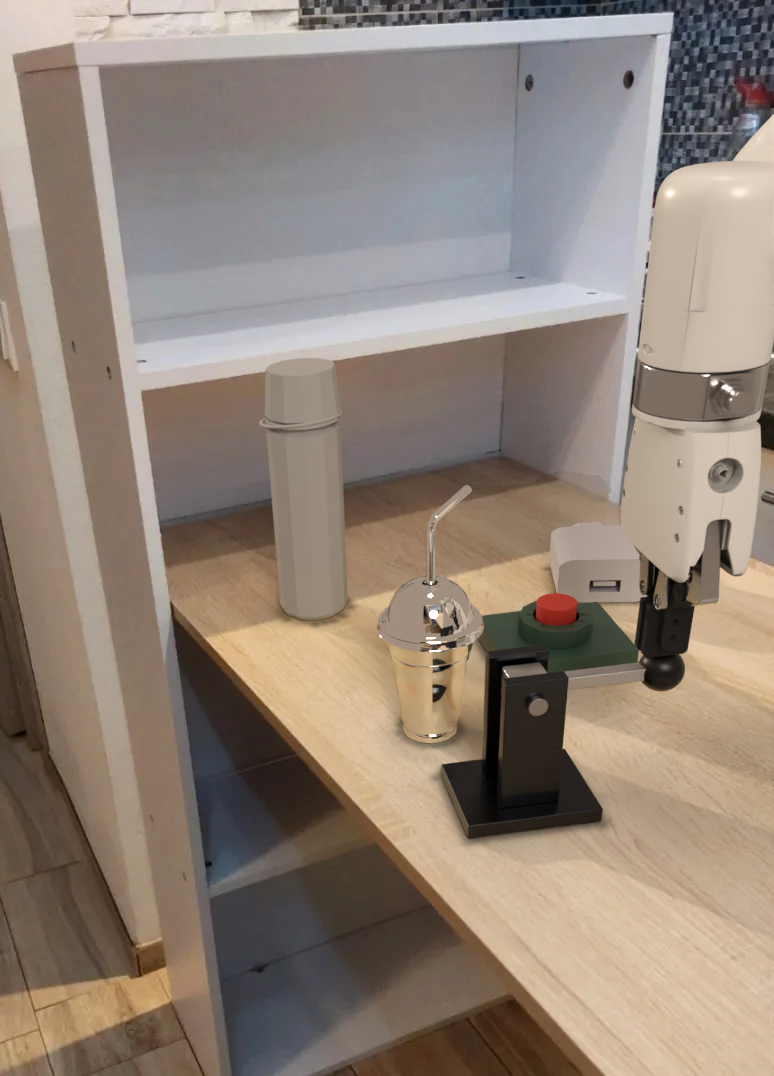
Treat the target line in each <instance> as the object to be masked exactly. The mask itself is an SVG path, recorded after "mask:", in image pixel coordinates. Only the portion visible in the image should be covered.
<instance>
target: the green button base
mask: <svg viewBox="0 0 774 1076" xmlns="http://www.w3.org/2000/svg"><path fill="white" fill-rule="evenodd" d="M536 606H537V600H534V601H532V602H530V603H528V604H526V605H523V606H522V609H521V610H516V611H507V612H500V613H492V614H483V615H482V614H481V615H482V621H483V624H484V629H483V633H482V634H481V636H480V637H479V638H478V639H477V640H478V641H479V643H480V644H481V646H482V648H483V650H484V651H485V652H486V651H493V650H502V649H510V648H518V647H526V646H534V645H543V644H545V645H546V647H547V648H548V650H549V659H548V673H552V672H560V671H572V670H580V669H589V668H597V667H605V666H613V665H621V664H630V663H638V662H639V653H640V650H639V649H638V648H637V647H636V646H635V642H633V641H632V640H631V638H629V636H628V635H627V634H626V632H624V631H623V629H622V628H621V627H620V625H618V624H617V623H616V621H615V620H614V619H613V618H612V617H611V615H609V613H608V612H607V611H606V609H604V607H603V606H602V605H601V604H600V602H590V603H577V614H576V621H575V622H574V623H571V624H569V625H561V626H556V625H547V624H544V623H541V622H539V621H537V620H536Z"/></svg>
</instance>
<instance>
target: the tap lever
mask: <svg viewBox="0 0 774 1076" xmlns="http://www.w3.org/2000/svg"><path fill="white" fill-rule="evenodd" d="M564 672H565V673H566V675H567V676H568V678H569V680H568V691H572V690H573V691H575V690H580V689H591V688H598V687H604V686H605V687H606V686H614V685H622V684H623V685H624V684H631V683H639V682H641V683H642V685H643V686H645V687H646V688H648V689H649V690H652V691H653V692H654V691H655V692H667V691H671V690H673V689H675V688H676V687H677V686H679V685H680V684H681V682H682V681H683V679H684V677H685V674H686V665H685V661H684V659H683V657H682V656H681V654H677V655H668V656H660V657H651V658H646V657H645V656H644V655H643V654H642V656H641V657H640V659H639V660H638V662H637V663H630V664H621V665H613V666H605V667H597V668H589V669H580V670H572V671H564ZM544 673H547V672H546V671H545V669H544V668H543V666H542V665H541V663H540V662H537V663H528V664H520V665H512V666H504V667H502V679H504V678H512V677H520V676H528V675H536V674H544ZM501 695H502V682H501Z"/></svg>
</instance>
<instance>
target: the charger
mask: <svg viewBox="0 0 774 1076" xmlns="http://www.w3.org/2000/svg"><path fill="white" fill-rule="evenodd" d="M639 556H640V555H639V553H638V552H637V550H636V548H635V547H634V545H633V544H632V543H631V542H630V541H629V540H628V538H627V537H626V536H625V534H624V533H623V530H622V528H621V524H620V525H619V524H618V525H617V524H616V525H608V524H606V523H604V522H601V521H600V522H598V521H597V522H596V521H594V522H577V523H576V524H574V525H571V526H562V527H558V528H556V529H554V530H553V531H552V532H551V533H550V544H549V557H548V558H549V559H548V560H549V565H550V571H551V574H552V579H553V583H554V588H555V592H556V593H559V594H566V595H569V596H572V597H573V598H575V599H576V600H577V603H579V604H582V603H591V602H598V603H640V598H641V597H647V595H642V594H641V593H640V590H639V576H640V559H639Z"/></svg>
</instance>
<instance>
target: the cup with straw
mask: <svg viewBox="0 0 774 1076" xmlns="http://www.w3.org/2000/svg"><path fill="white" fill-rule="evenodd" d="M472 492H473V489H472V487H471V485H468V484H466V485H463V487H461V488H460V489H459V490H458V491H457V492H456V493H455V494H454V495H453V496H451V497H450V498H449V499H448V500H447V501H446V502H445V503H443V504H442V505H441V506H440V507H439V508H438V509H436V511H434V512H433V513H432V514H431V516H430V517H429V518H428V521H427V524H426V529H425V576H419V577H416V578H413V579H411V580H409V581H407V582H405V583H404V584H402V585H401V586H400V587H399V588H398V589H397V590H396V591H395V592H394V594H393V596H392V598H391V599H390V602H389V603H388V606H386V607H385V608H384V609H383V610H382V611H381V612H380V614H379V616H378V622H377V624H376V631H377V634H378V636H379V637H380V638H381V640H383V641H384V642H386V643H387V648H388V651H389V656H390V659H391V661H392V663H393V664H392V665H393V670H394V678H395V685H396V691H397V692H396V693H397V697H398V704H399V712H400V718H401V721H402V722H403V725H402V731H403V733H404V734H405V736H407V737H408V738H409V739H411V740H413V741H415V742H418V743H425V744H436V743H442V742H445V741H447V740H449V739H451V738H452V737H454V736H455V735H456V733H457V731H458V730H457V729H458V726H457V722H458V721H459V717H460V711H461V704H462V699H463V692H464V685H465V678H466V671H467V665H468V661H469V659H470V656H471V651H472V649H473V646H474V645H473V644H474V643H475V642H476V641H477V640H479V639H478V638H479V637H480V636H481V634H482V633H483V629H484V624H483V621H482V613H481V611H480V610H479V609H478V608H477V607H476V606H475V605H473V603H472V602H471V599H470V598H469V596H468V594H467V592H466V590H464V589H463V588H462V587H461V586H460V585H459V584H458V583H457V582H456V581H455V582H454V581H453V580H451V579H450V578H449V579H448V578H447V577H443V576H439V575H436V529H437V526H438V523H439V522H440V520H442V519H443V518H444V517H445V516H447V514H449V512H450V511H452V510H453V509H454V508H455V507H456V506H457V505H458V504H459V503H461V502H462V501H463V500H465V498H466V497H468V496H469V494H471V493H472Z"/></svg>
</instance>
